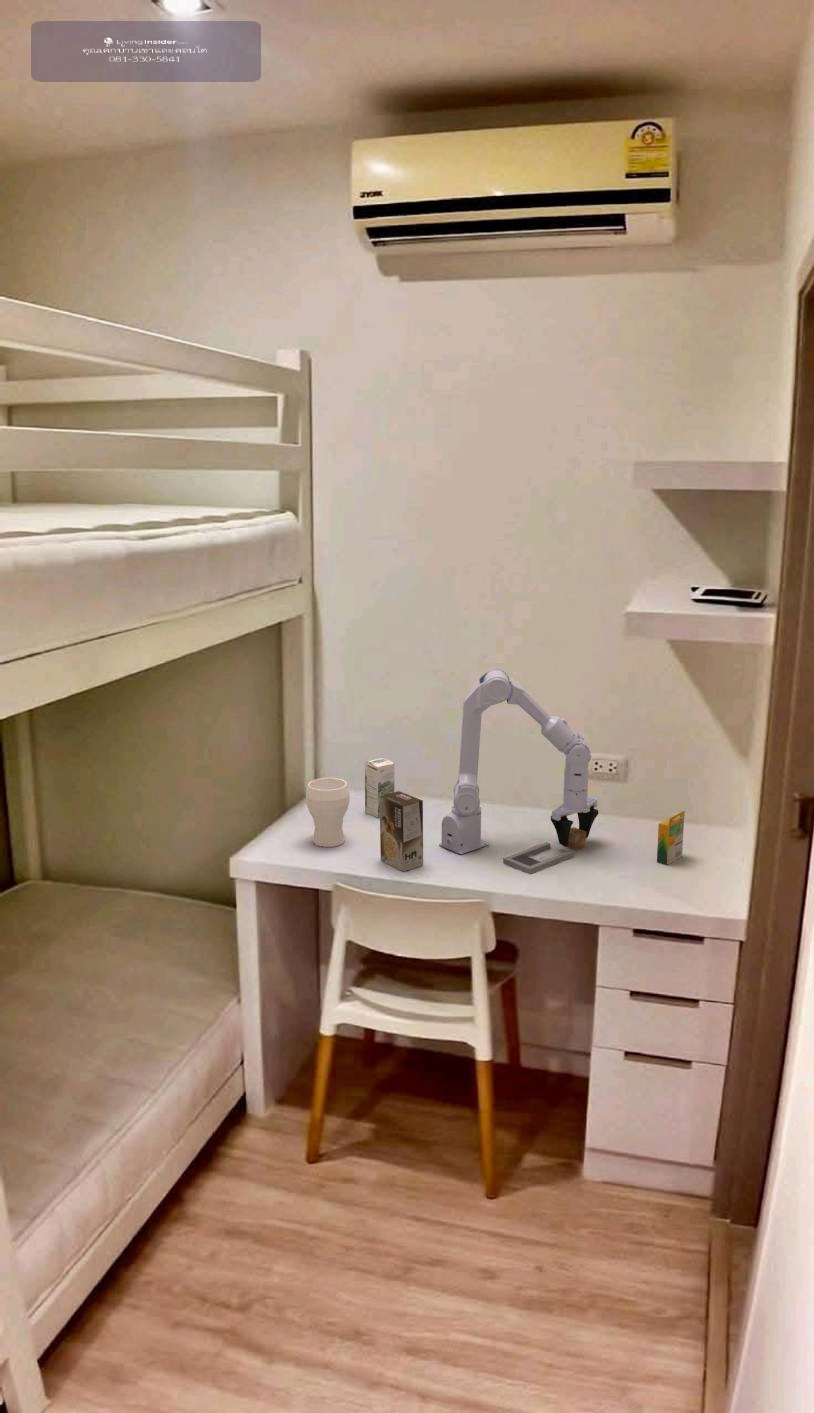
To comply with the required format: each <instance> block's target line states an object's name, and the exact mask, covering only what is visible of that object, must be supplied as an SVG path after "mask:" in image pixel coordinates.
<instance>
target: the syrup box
mask: <svg viewBox="0 0 814 1413" xmlns="http://www.w3.org/2000/svg"><path fill="white" fill-rule="evenodd" d="M395 767H396V766H395V763H394V762H393V761H391V760H389V759H387V758H383V757H379V758H376V759H373V760H369V761H364V813H365V814H368V815H370V816H372V817H375V818H377V819H380V798H379V797H381V796H385V795H386V794H390V793H393V792H395V775H396V774H395V772H396V771H395Z"/></svg>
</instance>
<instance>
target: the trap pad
mask: <svg viewBox="0 0 814 1413" xmlns="http://www.w3.org/2000/svg"><path fill="white" fill-rule="evenodd" d="M518 862H520V863H523V864H525V865H528V866H531V865H534V864H537V863H539V862H541V861H540V860H538V859H535V858H532V857H531V856H528V857H526V858H523V859H520V860H518Z"/></svg>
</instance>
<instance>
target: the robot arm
mask: <svg viewBox="0 0 814 1413" xmlns="http://www.w3.org/2000/svg"><path fill="white" fill-rule="evenodd" d="M503 702H506V704H508V705H518V706H519V707H520V708H521V709H522V710H523V711H525V713H526V714H528V715H529V716H530V717H531V718H532V719H533V720H534V721H535V722H537V724H538V725H540V726H541V727H540V728H541V730H540V733H541V735H542V736H543V737H544V738H545V739H546V740H548V741H549V743H551V745H553V747H555V749H557V751H558V752H561V753H563V754H564V755H565V768H564V769H563V770H564V771H563V772H564V773H563V775H564V776H563V796H562V797H563V798H562V801H563V802H562V804H560V806H558V807H557V808H556V809H553V810H551V815H550V821H551V822H552V825H553V827H554V829H555V831H556V832H555V833H556V835H557V839H558V843H559V845H561V846H562V845H563V846H562V847H564V846H567V845H568V841H569V833H570V829H571V828H572V826H573V824H574V821H573V820H570V819H569V818H568V816H571V815H573V814H574V815H575V814H577V818H578V819H577V820H578V829H580V830H583V831H586V839H588V838H589V835H590V831H591V829H592V827H593V823H594V821H595V819H596V818H597V816H598V815H599V810H598V809H596V808H598V798H594V797H589V798H588V793H589V791H588V790H589V771H590V770H589V763H590V761H591V759H592V755H591V751H590V748H589V745H588V743H587V742H586V741H585V739H584V737H582V735H581V734H580V733H579V732H578V733H576V732H575V731H574V730H573V729H572V728H571V727H570V726H569V725H568V721H567V720H566V718H564V717H563V718H561V717H560V716H559V715H555V716H554V715H550V714H549V713H548V712H547V711H546V709H544V708H543V707H542V706H541V705H540V704H539V702H538V701H537V700H536V699H535V698H534V697H533V696H532V695H531V694H530V693H529V692H528V691H527V690H526V689H525V687H524V686H523V685H521V684H520V683H519V682H518V681H516V680H515V678H513V677H512V676H510V677H509V675H508V674H507V672H506V671H504V670H503V669H501V668H493V669H492V668H491V669H489V670H487V672H485V673H483V674H481V675H480V676H479V677H478V679H477V681H476V683H475V684H474V685H473V687H472V688H471V690H469V692H468V693H467V694H466V696H465V697H464V699H463V706H462V719H461V720H462V721H461V735H460V736H461V737H460V752H459V753H460V754H459V766H458V769H459V770H458V779H457V782H456V783H455V784H454V786H453V805H452V806H451V811H450V813H448V814H447V815H446V816H444V817H442V821H441V842H439V844H438V845H439V846H441V847H442V848H445V849H447V850H449V851H452V852H454V853H457V854H459V855H464V854H466V853H469V852H472V851H475V850H478V849H480V848H484V847H486V846H489V843H488V842H487V841H485V840H482V807H481V798H480V787H479V784H478V772H479V771H478V770H479V761H480V760H479V759H480V744H481V729H482V728H481V727H482V715H483V712H485V711H486V710H488V708H490V707H492V706H494V705H499V704H501V703H503Z"/></svg>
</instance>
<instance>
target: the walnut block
mask: <svg viewBox="0 0 814 1413" xmlns="http://www.w3.org/2000/svg"><path fill="white" fill-rule="evenodd" d="M561 846H562V847H563V848H565V849H570V851H573V852H574V851H576V852H577V851H579V850H581V849H584V848H585V847H586V846H587V838H586V831H583V830H580V829H579V827H578V828H577V827H576V826H575V827H574V826H573V827H571V829H570V833H569V841H568V845H567V846H563V845H561Z"/></svg>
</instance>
